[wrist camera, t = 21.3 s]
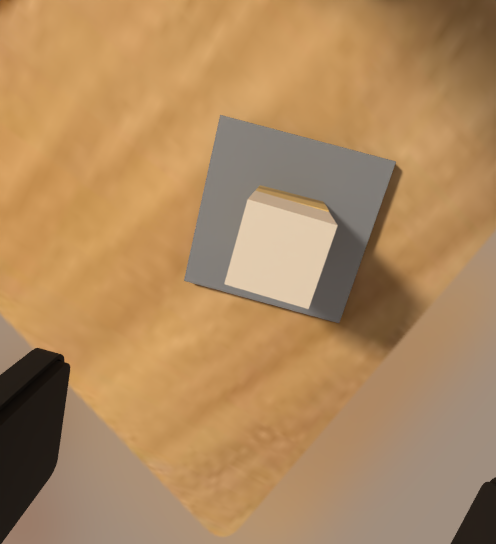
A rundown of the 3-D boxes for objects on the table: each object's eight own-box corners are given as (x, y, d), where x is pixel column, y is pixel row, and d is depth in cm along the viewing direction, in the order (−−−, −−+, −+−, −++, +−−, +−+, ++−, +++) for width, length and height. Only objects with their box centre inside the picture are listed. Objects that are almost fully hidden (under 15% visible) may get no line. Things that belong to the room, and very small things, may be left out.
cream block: (255, 190, 32) (247, 199, 26) (329, 212, 32) (337, 225, 26) (235, 261, 34) (224, 284, 28) (305, 282, 34) (308, 309, 28)
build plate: (222, 116, 38) (220, 114, 37) (392, 161, 37) (396, 161, 36) (186, 277, 42) (184, 280, 41) (337, 318, 42) (339, 323, 41)
